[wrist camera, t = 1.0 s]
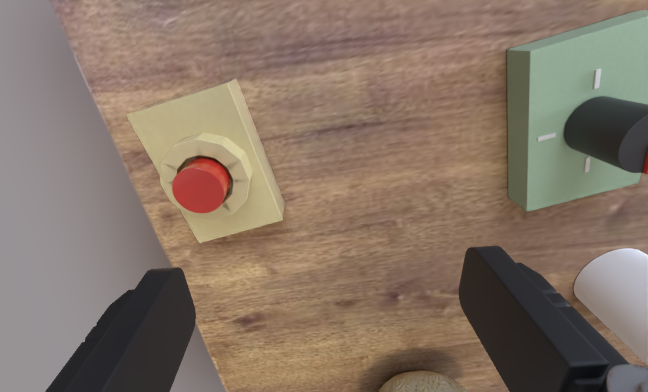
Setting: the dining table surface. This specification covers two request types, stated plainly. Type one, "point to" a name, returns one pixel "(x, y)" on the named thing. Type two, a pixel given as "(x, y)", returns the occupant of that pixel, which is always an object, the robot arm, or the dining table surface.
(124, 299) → the robot arm
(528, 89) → the dial panel
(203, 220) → the button base
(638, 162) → the dial
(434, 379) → the cantaloupe
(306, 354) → the dining table surface
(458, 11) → the dining table surface
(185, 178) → the push button
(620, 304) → the container
